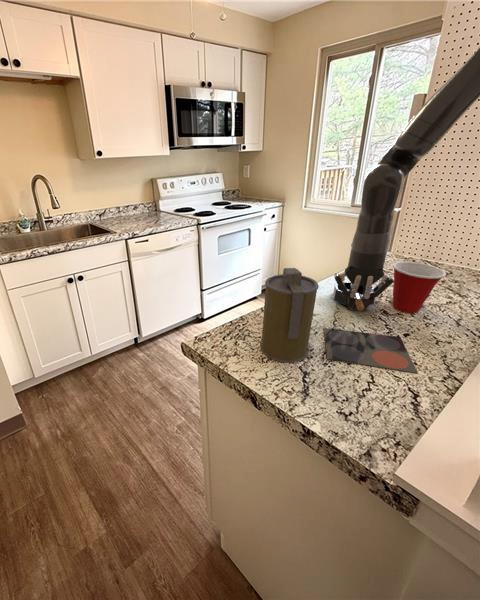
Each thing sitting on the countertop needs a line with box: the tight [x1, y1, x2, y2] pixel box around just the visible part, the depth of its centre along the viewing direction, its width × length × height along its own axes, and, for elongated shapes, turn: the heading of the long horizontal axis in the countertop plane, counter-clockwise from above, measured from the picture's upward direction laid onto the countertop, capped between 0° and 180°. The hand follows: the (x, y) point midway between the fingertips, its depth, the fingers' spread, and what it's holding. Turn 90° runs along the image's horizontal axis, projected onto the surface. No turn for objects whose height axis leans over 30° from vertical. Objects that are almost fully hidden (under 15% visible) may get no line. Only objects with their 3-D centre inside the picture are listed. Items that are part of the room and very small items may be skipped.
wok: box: [332, 281, 376, 311], centre depth 87 cm, size 10×17×4 cm, turn 155°
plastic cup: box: [392, 261, 447, 314], centre depth 83 cm, size 11×11×12 cm
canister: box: [259, 267, 319, 364], centre depth 69 cm, size 11×10×20 cm
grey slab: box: [323, 327, 419, 374], centre depth 71 cm, size 16×14×1 cm
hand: (356, 308), depth 85 cm, fingers closed on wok
